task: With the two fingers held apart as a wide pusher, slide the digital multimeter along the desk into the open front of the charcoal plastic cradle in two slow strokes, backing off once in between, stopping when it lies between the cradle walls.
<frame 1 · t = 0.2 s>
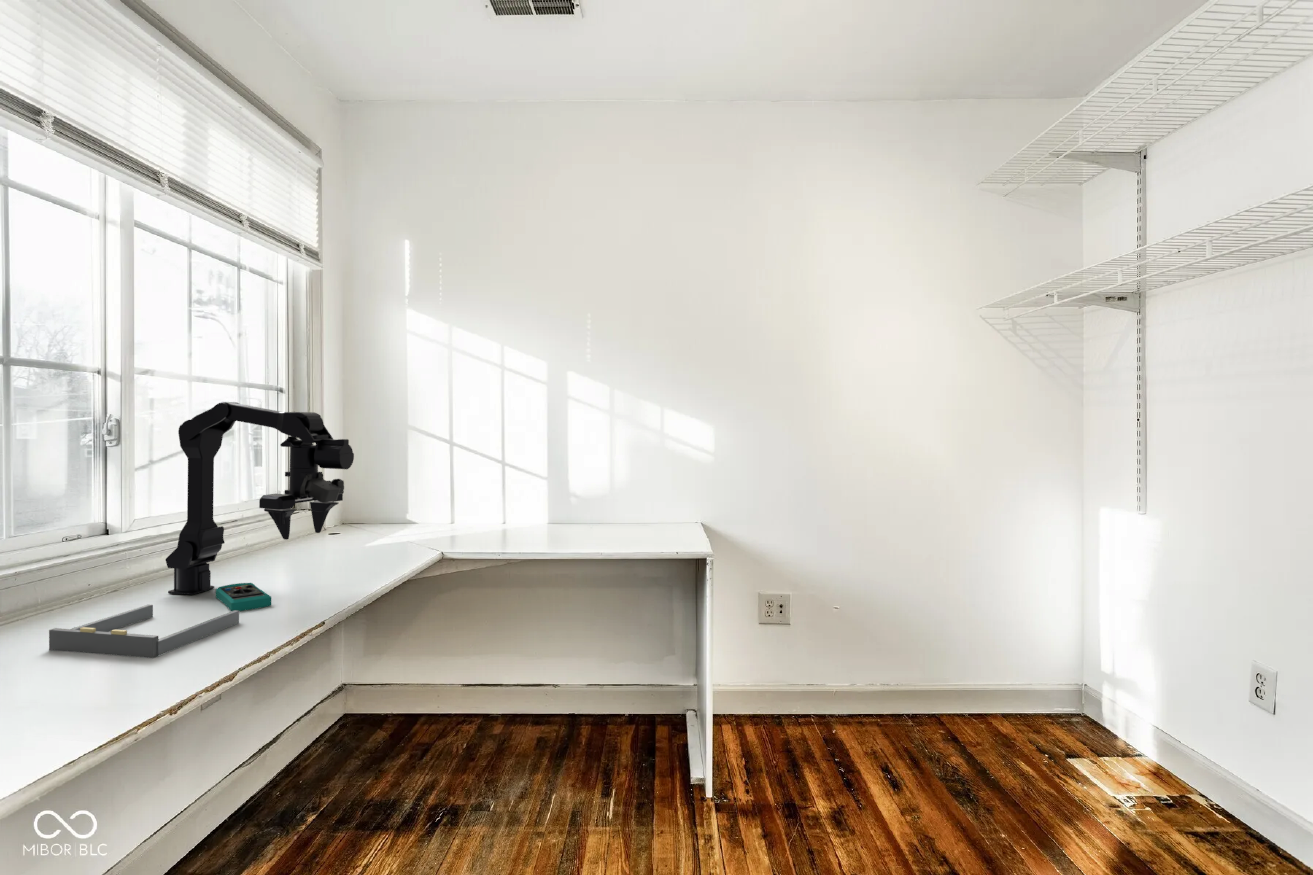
hand: (302, 535, 150), 14 cm above the table, tool pointing down, fingers open, 9 cm apart
cradle: (151, 635, 123), on the table
digital multimeter: (243, 604, 146), on the table
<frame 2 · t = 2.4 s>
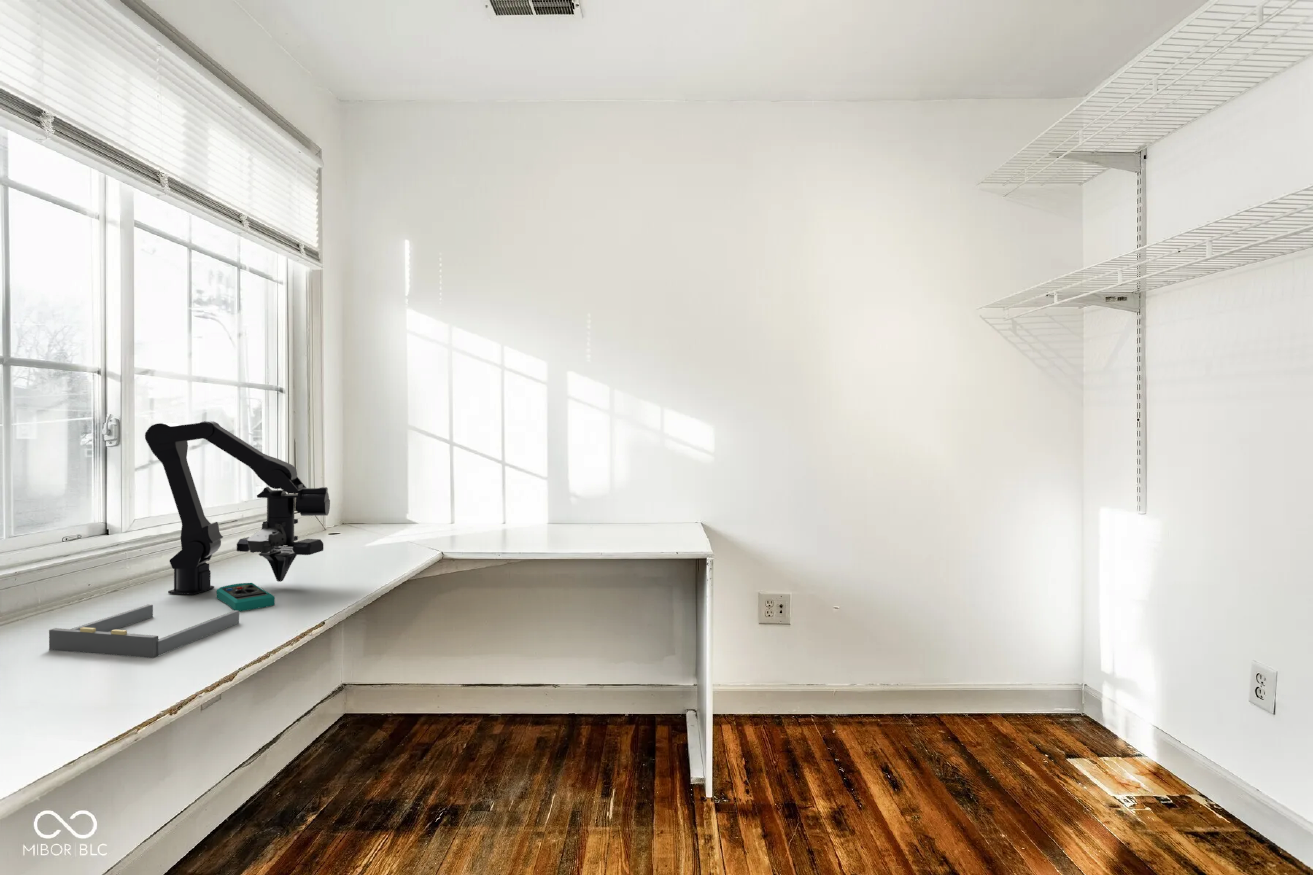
hand: (280, 581, 158), 2 cm above the table, tool pointing down, fingers closed
nothing on the table moved.
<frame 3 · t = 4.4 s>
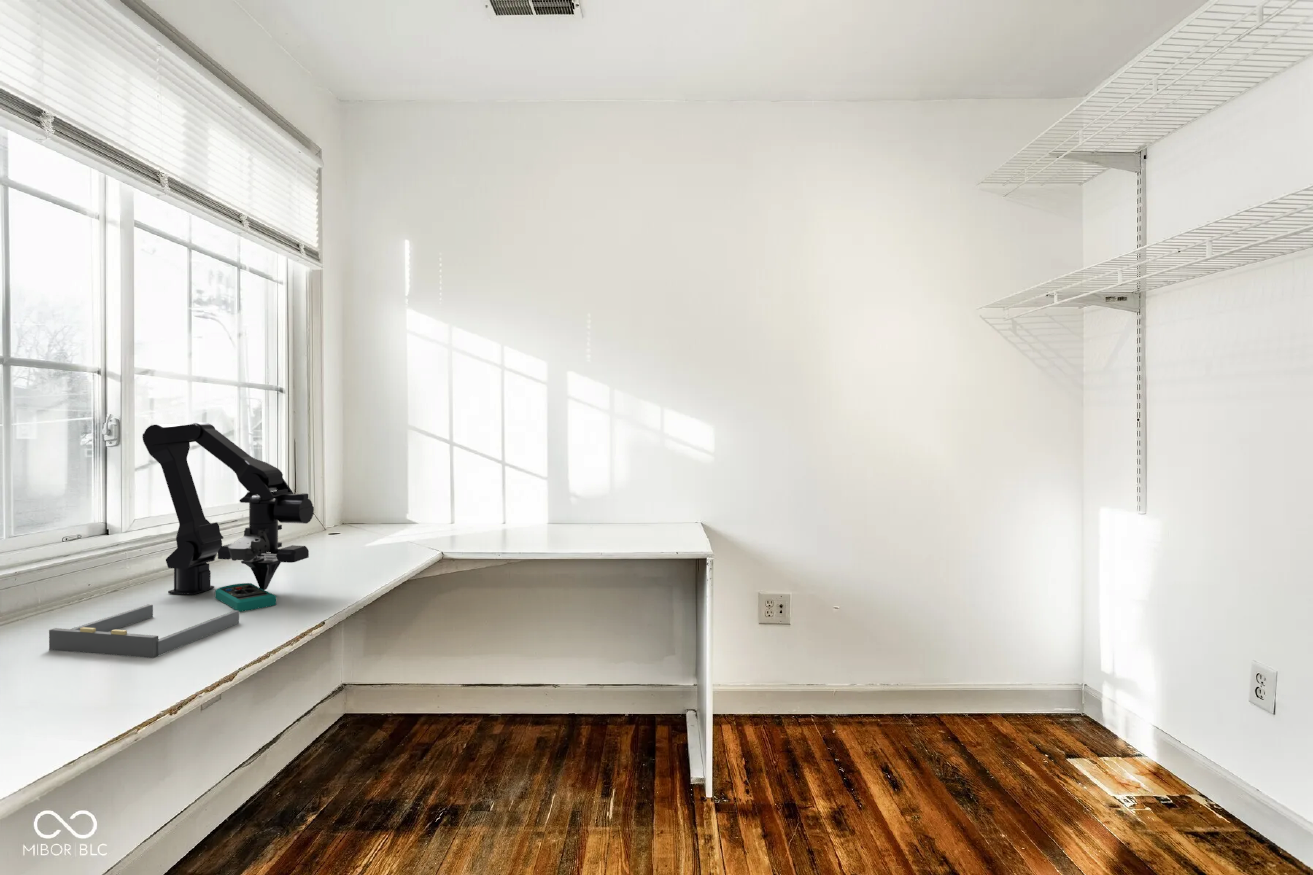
hand: (263, 589, 152), 1 cm above the table, tool pointing down, fingers closed
digital multimeter: (245, 604, 146), on the table, touching gripper
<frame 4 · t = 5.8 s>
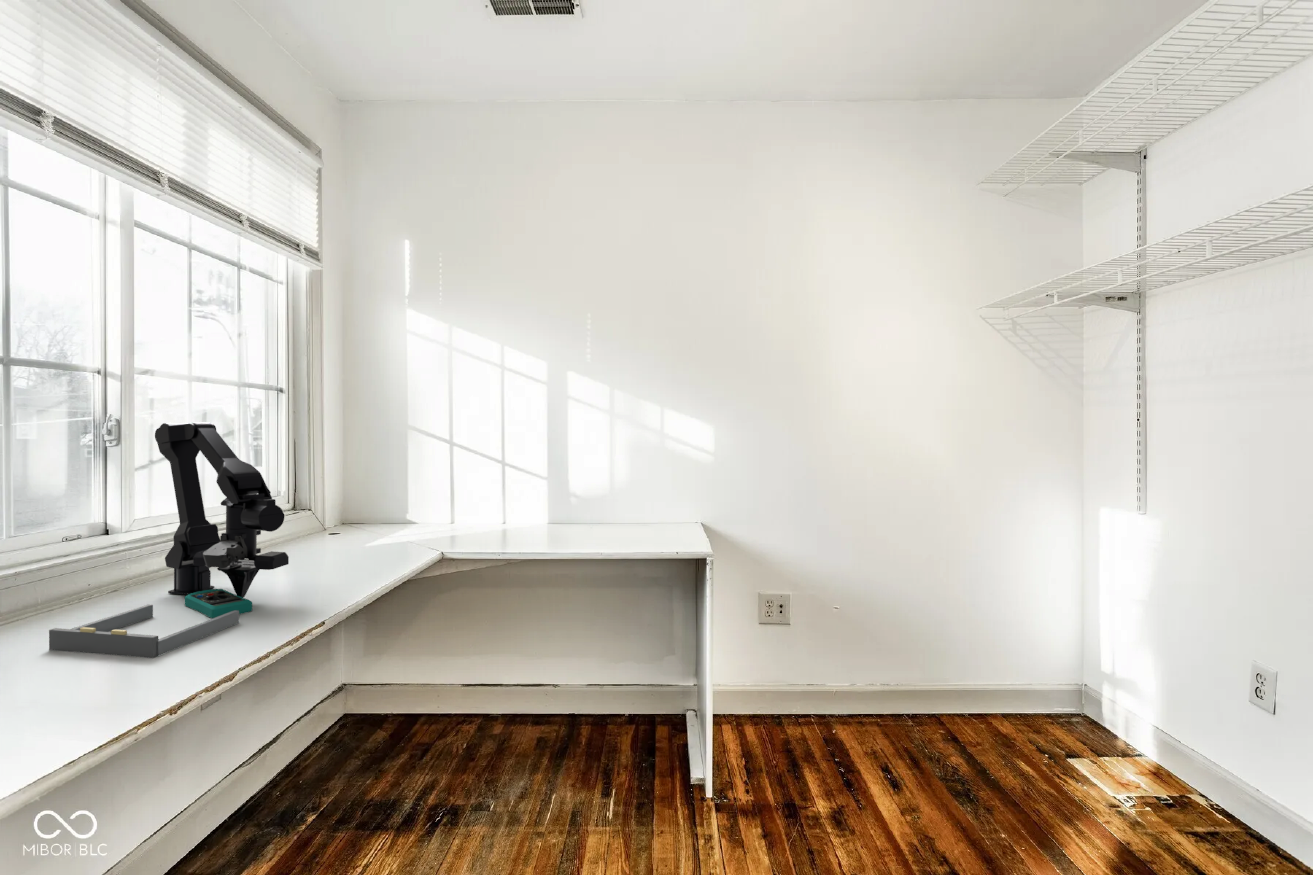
hand: (241, 597, 146), 1 cm above the table, tool pointing down, fingers closed
digital multimeter: (218, 611, 141), on the table, touching gripper
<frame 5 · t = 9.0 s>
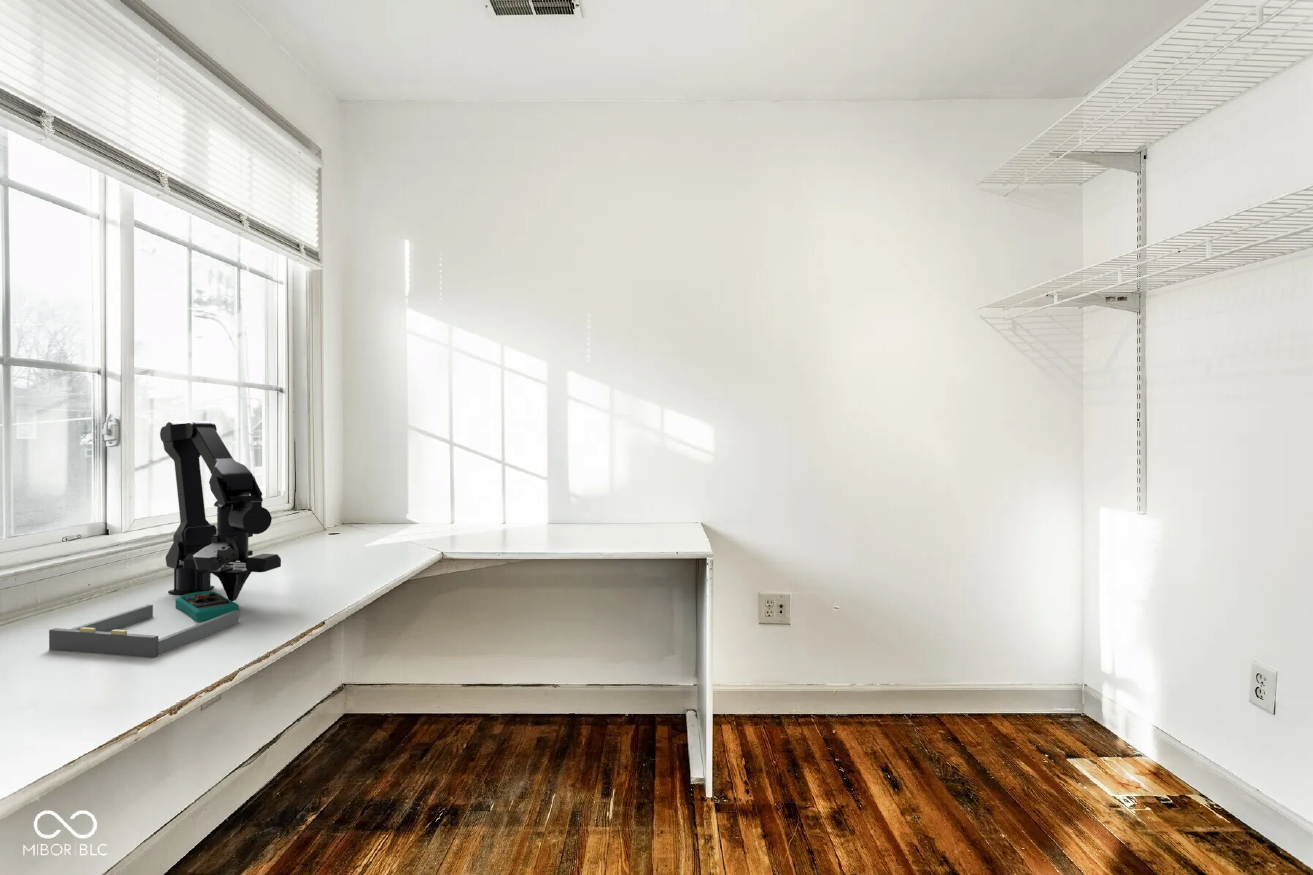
hand: (232, 600, 143), 1 cm above the table, tool pointing down, fingers closed
digital multimeter: (206, 614, 139), on the table, touching gripper
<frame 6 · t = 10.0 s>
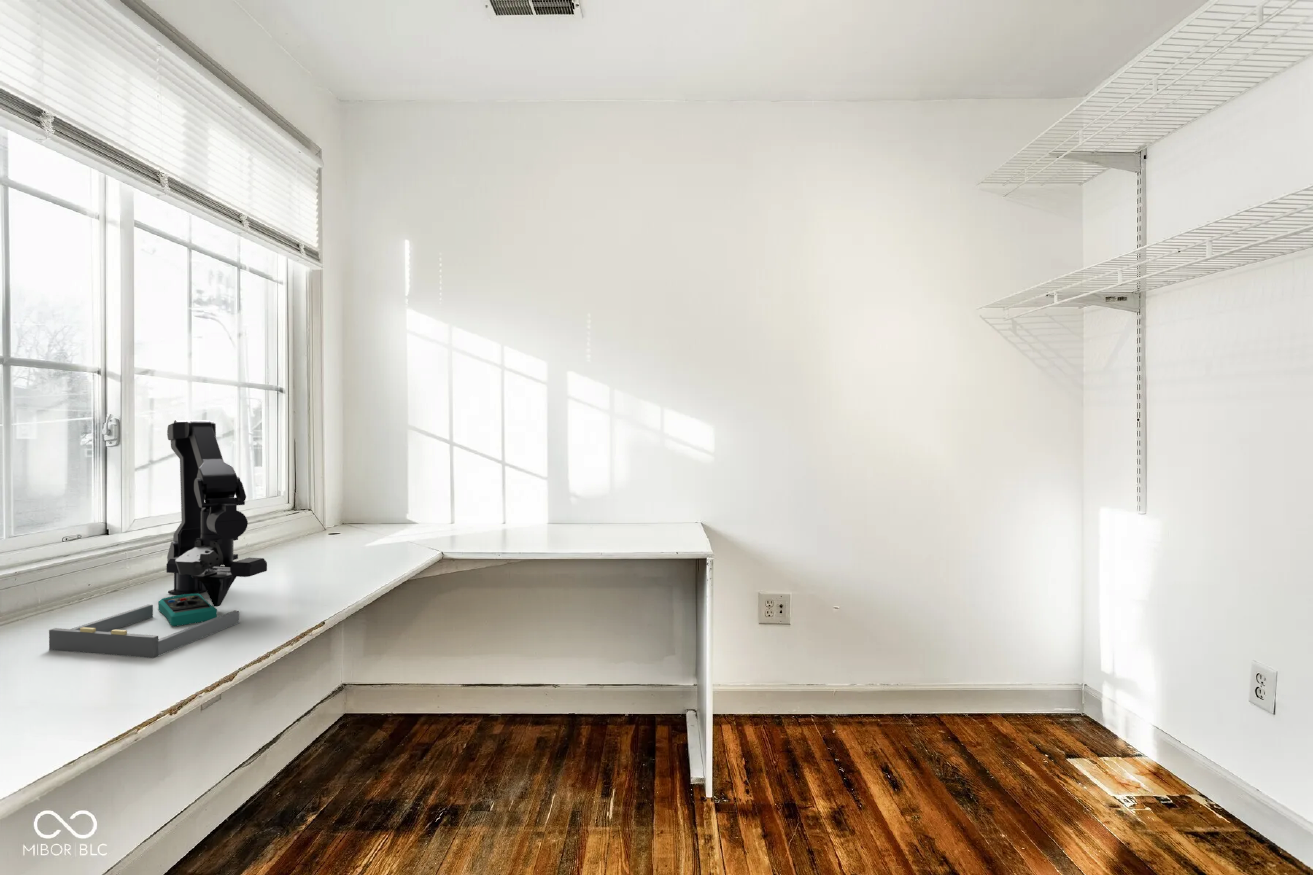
hand: (217, 606, 139), 1 cm above the table, tool pointing down, fingers closed
digital multimeter: (187, 617, 136), on the table, touching gripper
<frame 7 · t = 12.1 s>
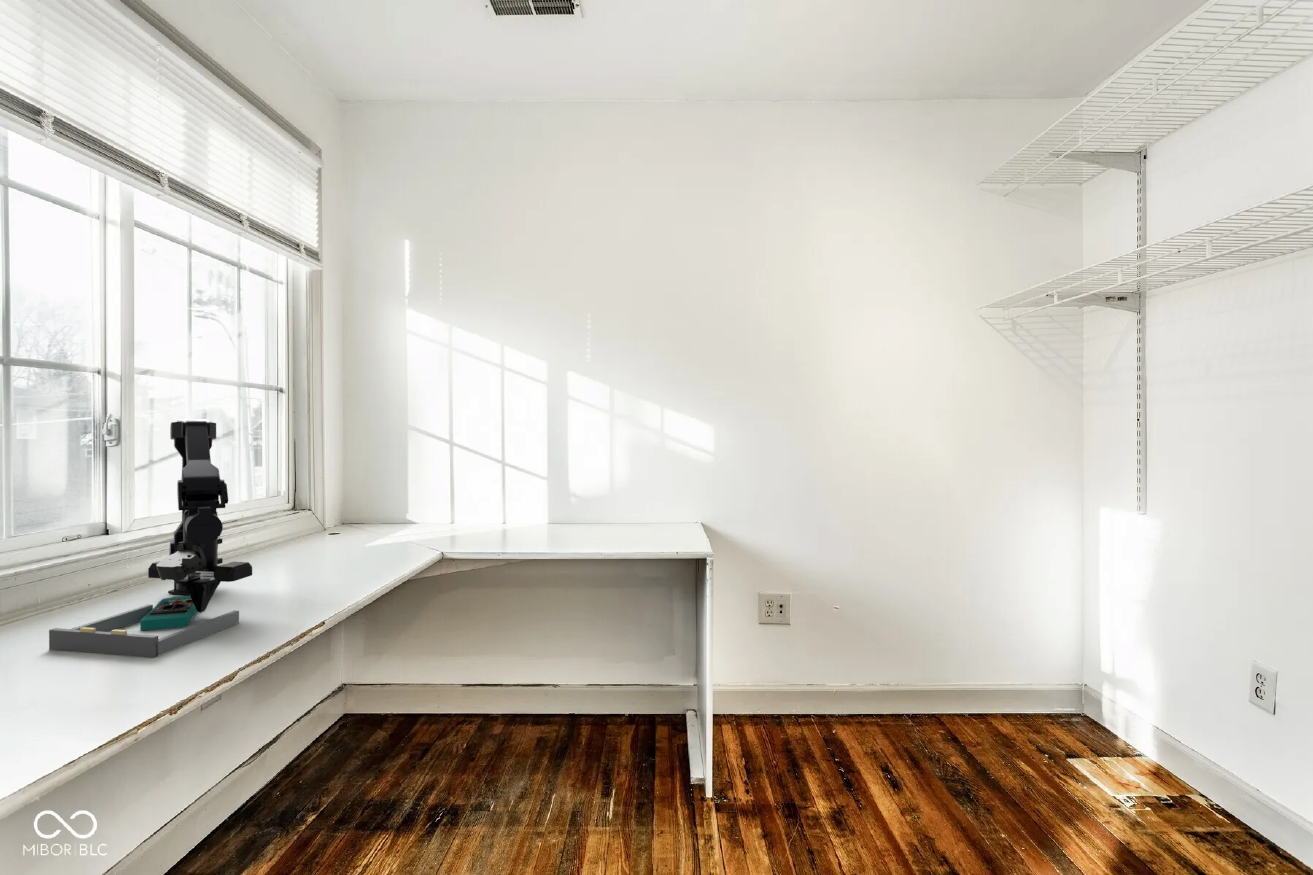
hand: (201, 611, 134), 1 cm above the table, tool pointing down, fingers closed
digital multimeter: (173, 621, 134), on the table
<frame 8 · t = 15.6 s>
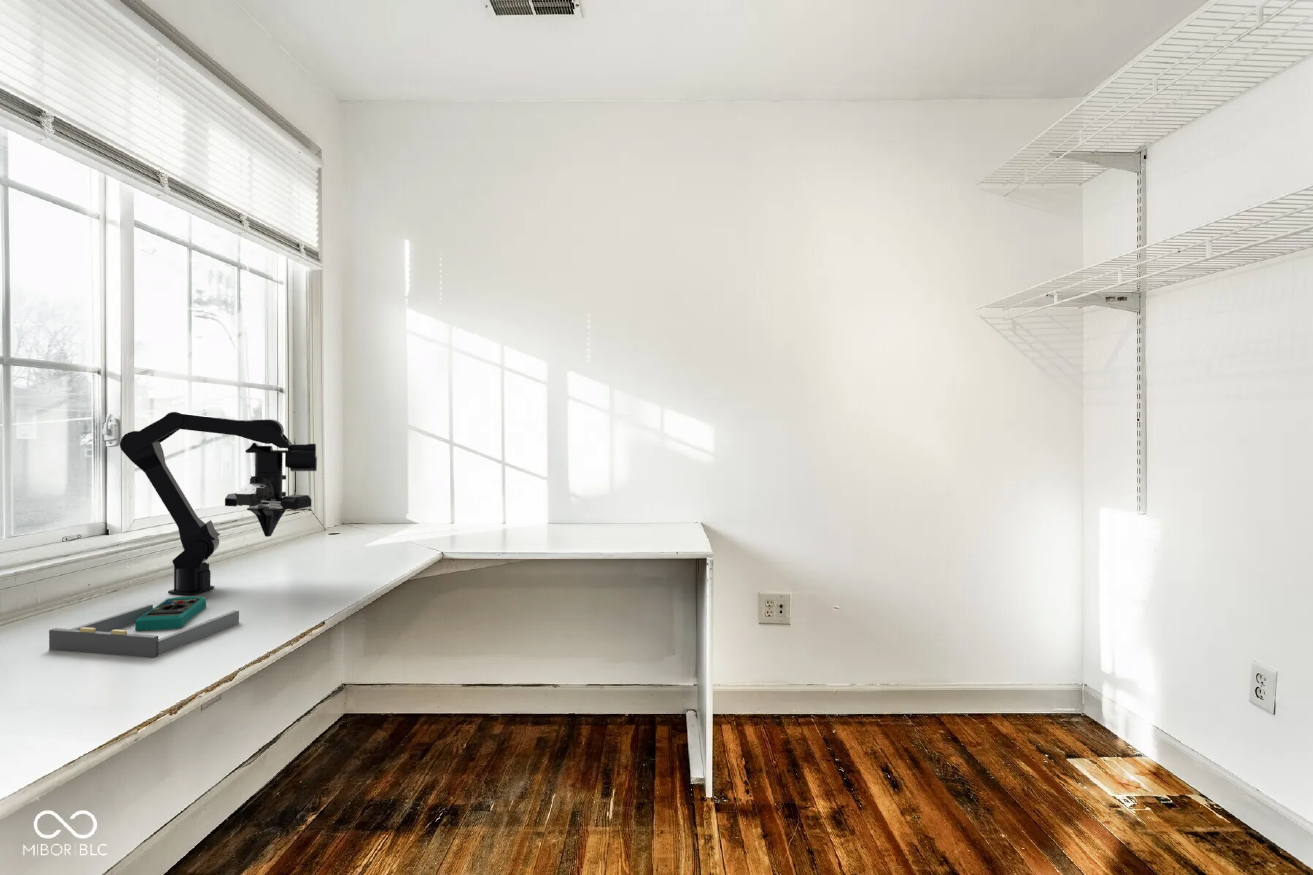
hand: (268, 536, 159), 12 cm above the table, tool pointing down, fingers closed
at the end: digital multimeter inside the target area (4.6 cm from its centre), on the table; digital multimeter moved 14.2 cm from its start; digital multimeter on the table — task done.
